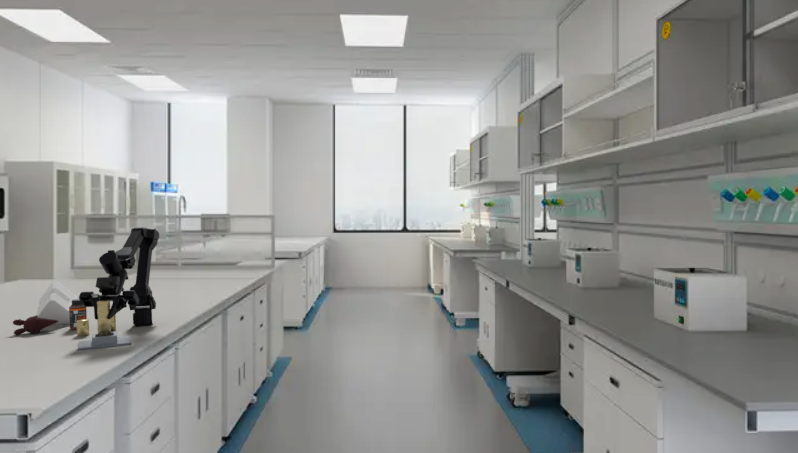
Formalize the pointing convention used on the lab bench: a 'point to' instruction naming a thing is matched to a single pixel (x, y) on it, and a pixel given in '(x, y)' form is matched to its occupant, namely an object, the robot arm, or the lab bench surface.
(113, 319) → the pin mid
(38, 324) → the icecream
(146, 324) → the robot arm
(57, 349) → the lab bench surface
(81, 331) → the pin short
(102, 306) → the pin long
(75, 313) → the supplement bottle
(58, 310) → the slotted wedge
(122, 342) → the gauge plate
